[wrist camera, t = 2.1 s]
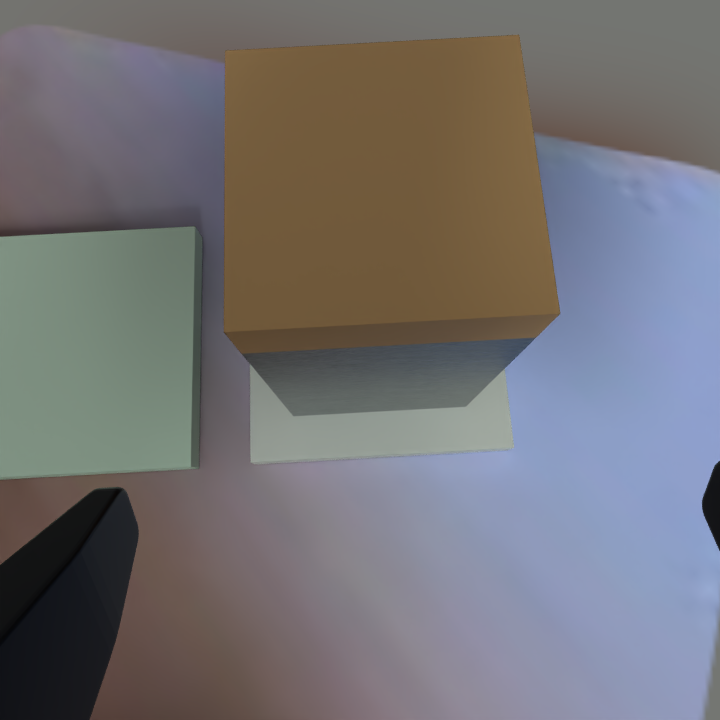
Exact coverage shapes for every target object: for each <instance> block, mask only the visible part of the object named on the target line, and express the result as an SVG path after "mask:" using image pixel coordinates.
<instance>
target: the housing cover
mask: <svg viewBox="0 0 720 720" xmlns="http://www.w3.org/2000/svg"><path fill="white" fill-rule="evenodd" d="M524 72H525V71H524V65H523V58H522V51H521V45H520V37H519V35H507V36H488V37H469V38H450V39H431V40H413V41H395V42H378V43H377V42H376V43H358V44H340V45H339V44H338V45H320V46H301V47H283V48H264V49H245V50H226V51H225V194H224V333H225V334H226V335H227V337H228V338H229V339H230V340H231V341H232V343H233V344H234V345H235V346H236V347H237V349H238V350H239V351H240V352H241V354H246V353H264V352H282V351H301V350H319V349H337V348H355V347H373V346H392V345H410V344H428V343H446V342H464V341H483V340H501V339H519V338H536V337H537V336H538V335H539V334H540V333H541V332H542V331H543V330H544V329H545V328H546V327H547V326H548V325H549V324H550V323H551V322H552V321H553V320H554V319H555V318H556V317H557V316H558V315H559V314H560V309H559V302H558V295H557V288H556V282H555V275H554V268H553V261H552V254H551V248H550V241H549V234H548V227H547V220H546V214H545V207H544V200H543V193H542V187H541V180H540V173H539V166H538V159H537V153H536V146H535V139H534V132H533V126H532V119H531V112H530V105H529V99H528V92H527V85H526V78H525V73H524Z"/></svg>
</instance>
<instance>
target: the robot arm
mask: <svg viewBox="0 0 720 720" xmlns="http://www.w3.org/2000/svg"><path fill="white" fill-rule="evenodd" d="M702 509H703V513H704V516H705V519H706V521H707V523H708V526H709V528H710V530H711V532H712V535H713V537H714V539H715V542H716V544H717V546H718V548H719V551H720V461H719V462H718V463H717V464H716V465H715V466H714V469H713V471H712V474H711V477H710V480H709V482H708V485H707V488H706V491H705V493H704V496H703V500H702ZM138 536H139V530H138V524H137V521H136V518H135V515H134V512H133V509H132V506H131V503H130V500H129V497H128V494H127V492H126V491H125V490H124V489H123V488H120V487H111V488H98V489H95V490H93V491H92V492H90V493H89V494H88V495H86V496H85V497H84V498H83V499H81V500H80V501H79V502H78V503H76V504H75V505H74V506H73V507H71V508H70V509H69V510H68V511H67V512H65V513H64V514H63V515H62V516H60V517H59V518H58V519H57V520H55V521H54V522H53V523H52V524H50V525H49V526H48V527H47V528H45V529H44V530H43V531H42V532H40V533H39V534H38V535H37V536H35V537H34V538H33V539H32V540H30V541H29V542H28V543H27V544H26V545H24V546H23V547H22V548H21V549H19V550H18V551H17V552H16V553H14V554H13V555H12V556H11V557H9V558H8V559H7V560H6V561H4V562H3V563H2V564H1V565H0V720H90V717H91V714H92V711H93V708H94V705H95V702H96V699H97V696H98V693H99V690H100V687H101V684H102V681H103V678H104V675H105V672H106V669H107V666H108V663H109V660H110V657H111V654H112V651H113V647H114V644H115V641H116V638H117V634H118V630H119V625H120V621H121V617H122V612H123V608H124V603H125V598H126V594H127V589H128V585H129V580H130V575H131V571H132V566H133V561H134V557H135V552H136V548H137V543H138Z"/></svg>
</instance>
